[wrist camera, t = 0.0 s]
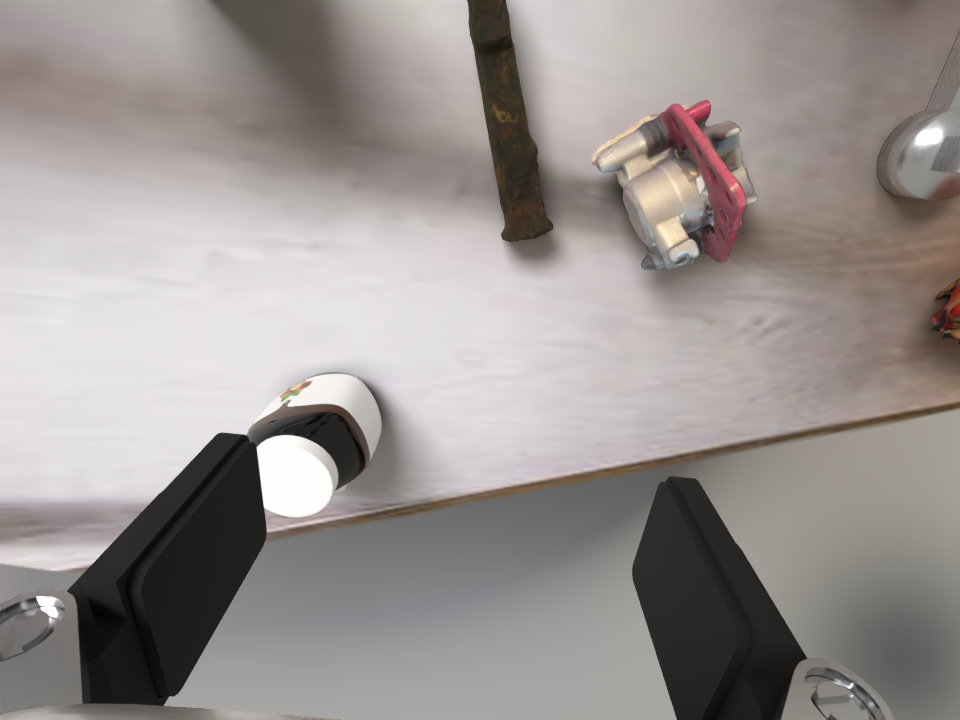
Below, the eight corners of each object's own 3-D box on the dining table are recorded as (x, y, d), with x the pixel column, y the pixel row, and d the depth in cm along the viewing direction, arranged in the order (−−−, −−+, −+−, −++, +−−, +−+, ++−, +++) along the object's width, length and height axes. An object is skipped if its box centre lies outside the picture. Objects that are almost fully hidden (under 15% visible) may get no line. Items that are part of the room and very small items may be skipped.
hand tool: (549, 228, 39) (557, 239, 35) (501, 237, 40) (503, 248, 35) (515, -61, 32) (519, -92, 27) (456, -47, 32) (451, -76, 28)
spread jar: (367, 357, 44) (327, 425, 34) (409, 454, 49) (386, 541, 38) (252, 388, 46) (180, 462, 35) (303, 479, 50) (252, 569, 40)
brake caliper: (798, 212, 36) (764, 291, 28) (657, 248, 43) (603, 317, 36) (759, 53, 31) (709, 99, 24) (612, 125, 39) (541, 175, 32)
